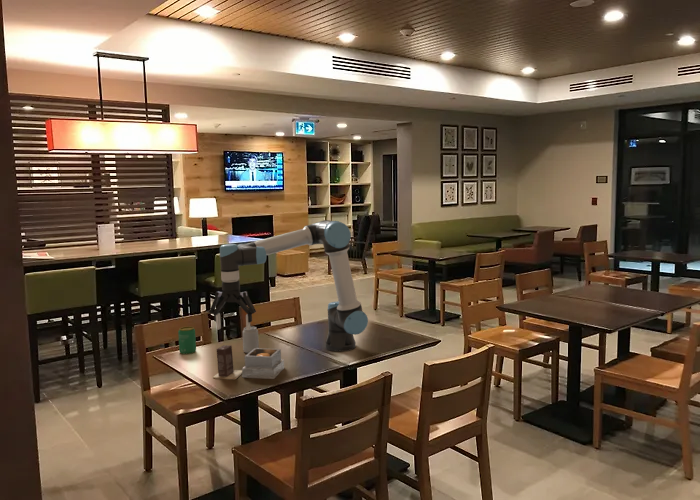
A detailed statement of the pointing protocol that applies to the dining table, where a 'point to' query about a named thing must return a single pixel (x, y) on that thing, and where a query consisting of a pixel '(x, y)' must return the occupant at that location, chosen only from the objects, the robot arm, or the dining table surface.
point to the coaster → (231, 376)
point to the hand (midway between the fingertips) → (233, 329)
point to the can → (250, 339)
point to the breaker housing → (263, 364)
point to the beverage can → (187, 340)
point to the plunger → (263, 354)
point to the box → (225, 360)
